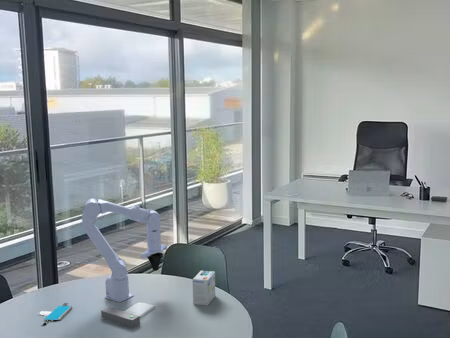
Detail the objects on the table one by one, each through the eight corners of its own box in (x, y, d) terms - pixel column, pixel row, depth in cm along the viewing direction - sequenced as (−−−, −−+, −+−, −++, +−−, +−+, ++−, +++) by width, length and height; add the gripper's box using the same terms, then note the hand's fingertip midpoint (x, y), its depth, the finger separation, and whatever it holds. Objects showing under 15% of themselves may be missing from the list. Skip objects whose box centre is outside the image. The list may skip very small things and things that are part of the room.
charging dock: (101, 318, 179) (101, 310, 179) (109, 314, 183) (109, 306, 182) (132, 328, 171) (132, 319, 170) (140, 323, 174) (139, 315, 174)
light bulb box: (200, 294, 201) (200, 269, 200) (215, 295, 199) (215, 271, 198) (192, 304, 191) (191, 278, 189) (208, 305, 189) (207, 280, 188)
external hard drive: (154, 309, 188) (136, 322, 177) (138, 305, 192) (118, 318, 180) (154, 305, 188) (135, 318, 177) (137, 301, 191) (118, 314, 180)
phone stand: (51, 304, 194) (50, 300, 194) (78, 305, 193) (78, 301, 193) (25, 326, 175) (25, 322, 174) (56, 327, 173) (56, 323, 173)
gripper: (149, 244, 191) (151, 276, 193) (172, 236, 203) (173, 266, 205) (136, 242, 195) (138, 274, 197) (159, 234, 207) (161, 263, 209)
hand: (155, 270), depth 201 cm, fingers closed
